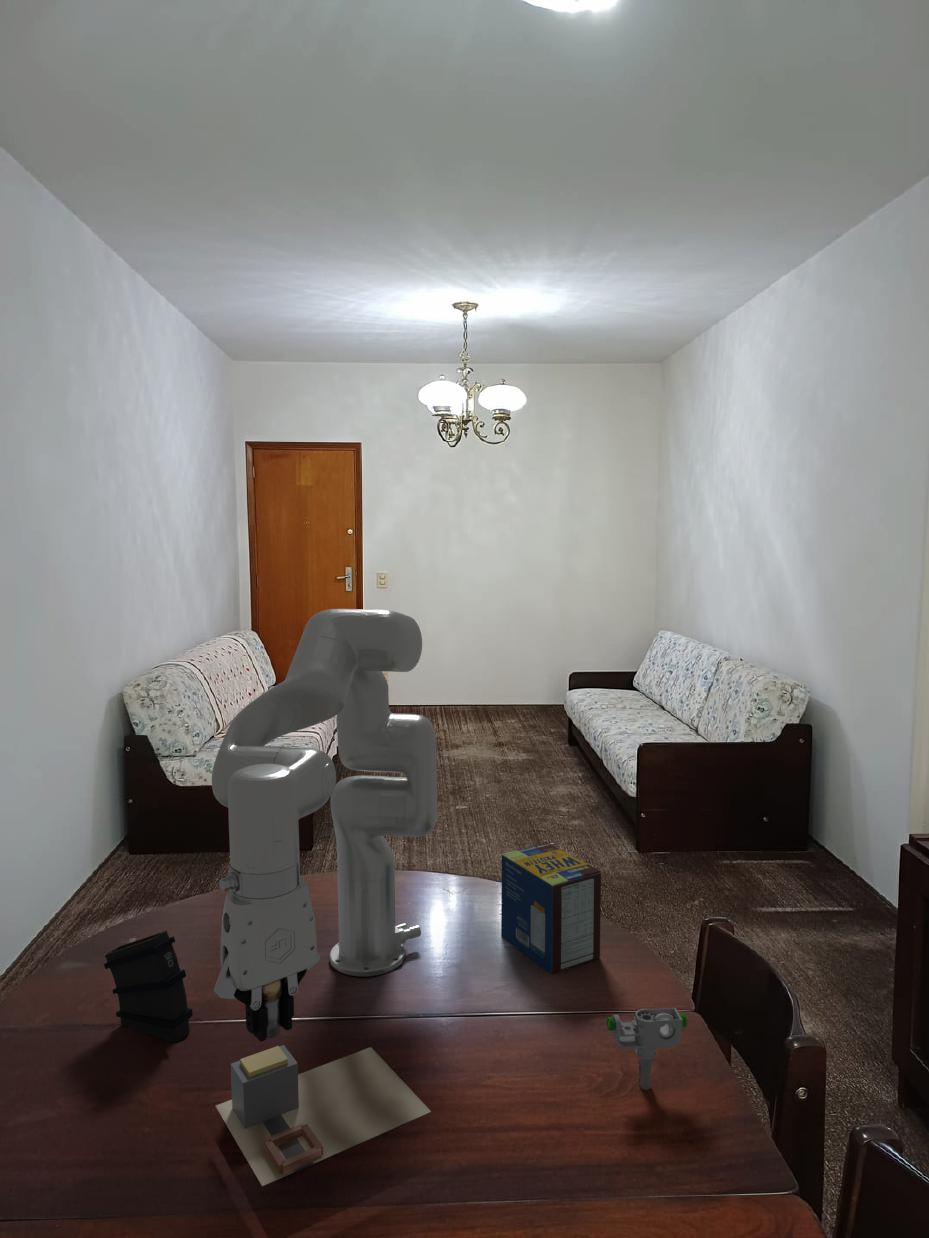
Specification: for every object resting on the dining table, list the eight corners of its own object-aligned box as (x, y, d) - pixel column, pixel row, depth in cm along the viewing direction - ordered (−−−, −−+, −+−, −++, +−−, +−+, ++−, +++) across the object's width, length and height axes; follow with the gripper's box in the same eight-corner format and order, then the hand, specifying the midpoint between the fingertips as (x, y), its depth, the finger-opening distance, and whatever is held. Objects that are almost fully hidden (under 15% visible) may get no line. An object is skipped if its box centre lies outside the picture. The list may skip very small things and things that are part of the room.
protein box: (546, 922, 164) (548, 841, 162) (601, 958, 151) (602, 871, 149) (499, 936, 158) (499, 853, 156) (551, 975, 145) (552, 884, 143)
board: (371, 1054, 124) (370, 1040, 124) (431, 1120, 111) (431, 1103, 111) (215, 1114, 112) (215, 1098, 112) (262, 1195, 99) (261, 1177, 99)
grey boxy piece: (285, 1087, 115) (283, 1040, 115) (298, 1107, 112) (297, 1058, 111) (232, 1107, 112) (230, 1059, 111) (244, 1128, 108) (243, 1078, 107)
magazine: (190, 1040, 125) (151, 939, 126) (129, 1055, 131) (92, 959, 132) (209, 1026, 128) (170, 928, 129) (149, 1041, 134) (112, 947, 135)
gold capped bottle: (287, 1032, 102) (285, 975, 101) (264, 1042, 100) (263, 983, 99) (275, 1021, 104) (273, 965, 103) (253, 1030, 102) (251, 973, 101)
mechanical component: (604, 1080, 119) (605, 1010, 118) (679, 1076, 120) (681, 1006, 118) (609, 1095, 116) (611, 1023, 115) (686, 1090, 117) (688, 1019, 115)
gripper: (211, 909, 91) (218, 1075, 94) (345, 868, 102) (348, 1018, 104) (182, 885, 97) (189, 1042, 99) (312, 848, 107) (315, 991, 110)
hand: (270, 1028), depth 102 cm, fingers closed on gold capped bottle, 2 cm apart
